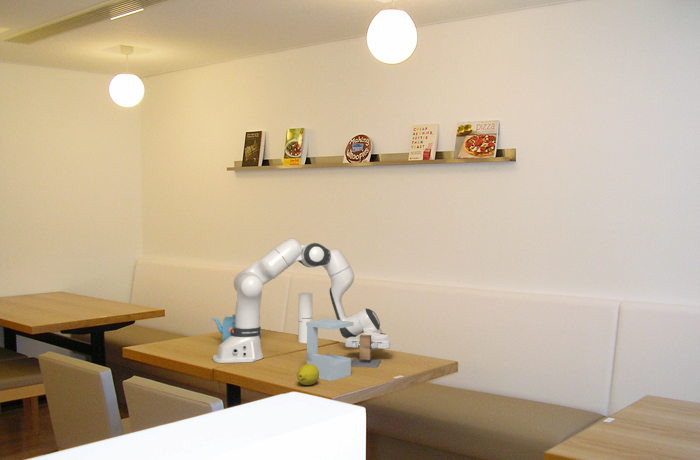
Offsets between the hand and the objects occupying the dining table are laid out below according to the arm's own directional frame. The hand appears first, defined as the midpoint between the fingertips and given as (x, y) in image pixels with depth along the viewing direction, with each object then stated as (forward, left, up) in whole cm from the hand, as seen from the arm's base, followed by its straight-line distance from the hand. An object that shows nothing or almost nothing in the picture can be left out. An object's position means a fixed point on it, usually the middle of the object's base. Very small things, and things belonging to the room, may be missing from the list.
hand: (365, 346), depth 273 cm
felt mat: (0, +1, -8) cm, 8 cm away
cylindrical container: (-12, +58, -8) cm, 59 cm away
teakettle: (-47, +64, -8) cm, 79 cm away
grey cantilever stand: (-20, -14, -8) cm, 25 cm away
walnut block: (0, +1, -5) cm, 6 cm away
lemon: (-33, -27, -8) cm, 43 cm away
